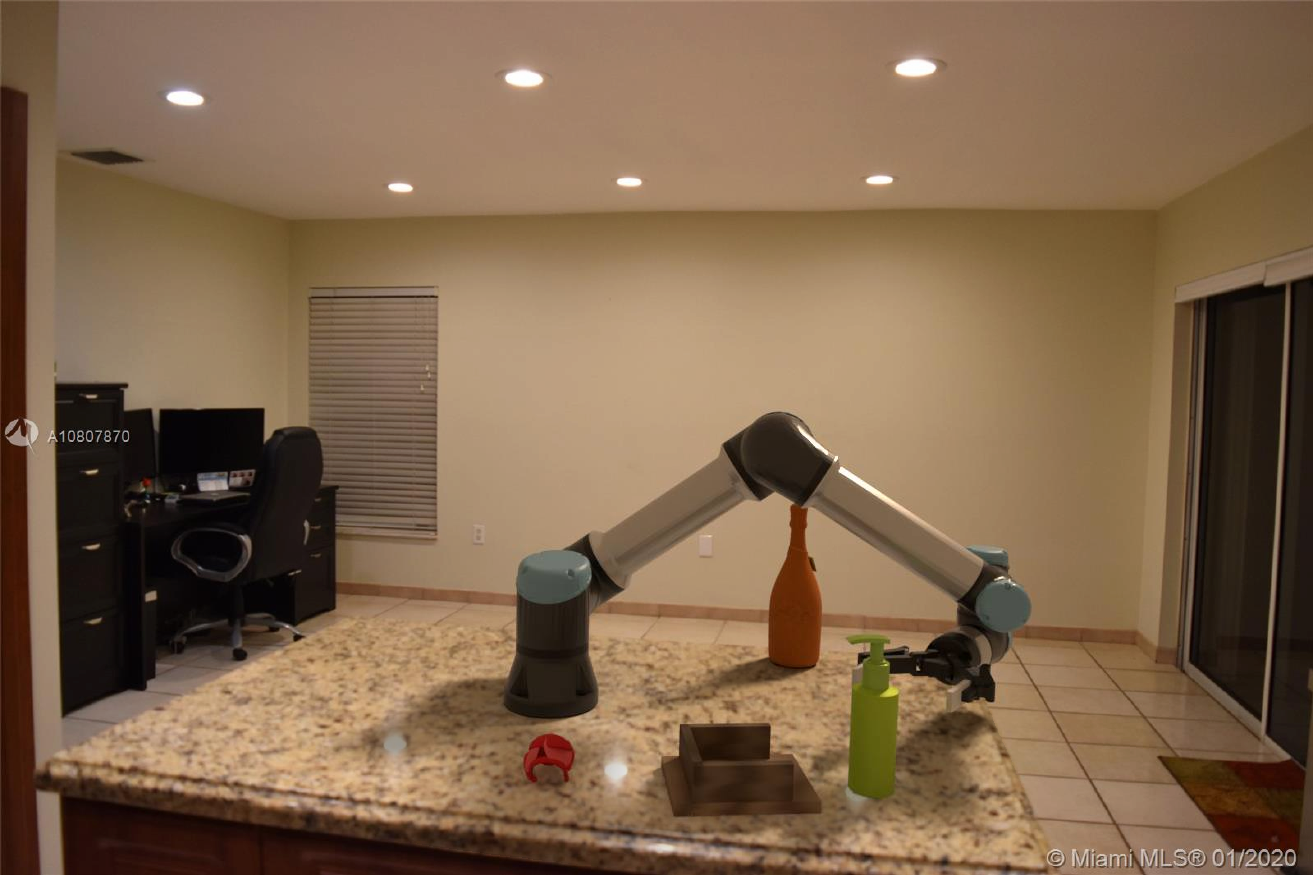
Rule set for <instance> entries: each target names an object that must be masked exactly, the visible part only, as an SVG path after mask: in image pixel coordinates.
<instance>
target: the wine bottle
mask: <svg viewBox="0 0 1313 875" xmlns="http://www.w3.org/2000/svg"><path fill="white" fill-rule="evenodd" d="M789 512H790V520H789V523H788V524H789V528H790V529H791V530H790V539H789V540H790V541H789V545H788V549H787V552H786V558H785V560H784V562H783V563H782V565H781V568H780V570H779V572H778V575H777V576H776V579H775V581H774V583H773V586H772V589H771V593H770V597H769V604H768V606H769V607H768V628H767V629H768V631H767V633H768V634H767V635H768V638H767V639H768V640H767V643H768V646H767V650H768V657H769V660H770V661H771V662H772V663H774V664H777V665H779V666H782V667H787V668H794V669H795V668H796V669H797V668H798V669H799V668H800V669H802V668H809V667H813V666H814V665H817V663H818V662H819V660H820V654H821V653H820V652H821V642H822V641H821V640H822V639H821V638H822V625H823V624H822V622H823V621H822V620H823V603H822V602H823V601H822V594H821V590H820V587H819V584H818V581H817V578H816V575H815V573H817V572H818V571H817V568H816V563H815V561H814V560H815V559H814V557H812V556H810V555H809V552H808V549H807V541H806V529H807V527H808V512H809V508H801V507H800V506H798V505H797V504H795V503H794V502H793V503H792V504H791V505H790V507H789ZM814 572H815V573H814Z"/></svg>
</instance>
